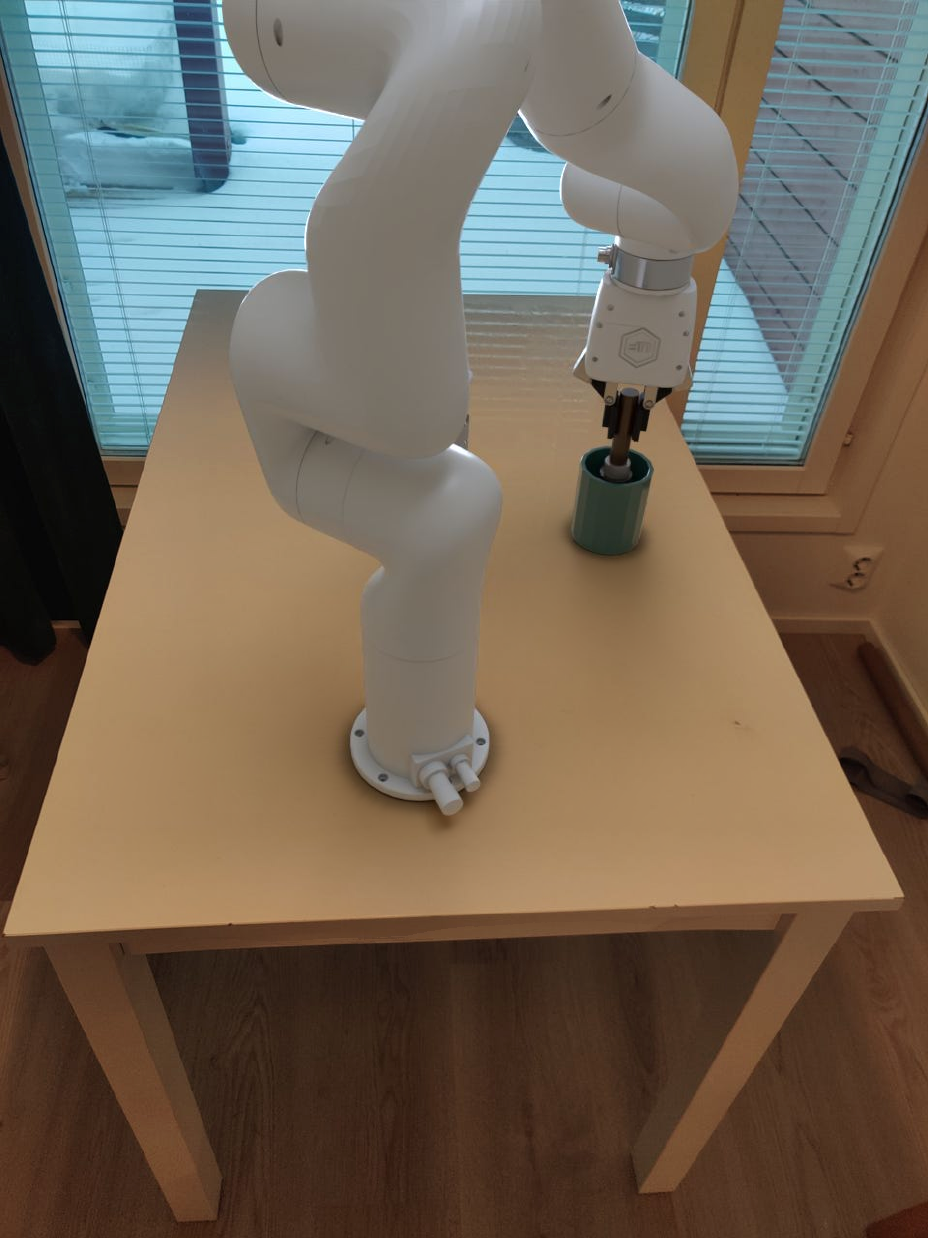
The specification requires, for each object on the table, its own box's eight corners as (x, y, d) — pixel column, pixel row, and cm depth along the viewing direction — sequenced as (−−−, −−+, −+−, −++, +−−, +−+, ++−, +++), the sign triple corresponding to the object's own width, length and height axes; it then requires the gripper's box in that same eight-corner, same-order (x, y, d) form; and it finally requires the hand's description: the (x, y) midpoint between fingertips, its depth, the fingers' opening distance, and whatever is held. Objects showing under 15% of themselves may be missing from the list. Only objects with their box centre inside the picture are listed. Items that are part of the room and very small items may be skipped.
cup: (652, 544, 108) (667, 475, 102) (594, 562, 105) (606, 492, 99) (614, 507, 113) (626, 439, 107) (558, 523, 110) (567, 454, 104)
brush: (633, 498, 106) (654, 392, 97) (614, 511, 104) (633, 404, 95) (608, 485, 108) (626, 379, 99) (589, 498, 106) (605, 391, 97)
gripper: (565, 272, 86) (546, 444, 98) (740, 288, 84) (698, 461, 97) (570, 242, 91) (552, 408, 104) (734, 256, 90) (696, 423, 102)
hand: (623, 432), depth 100 cm, fingers closed on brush, 2 cm apart
